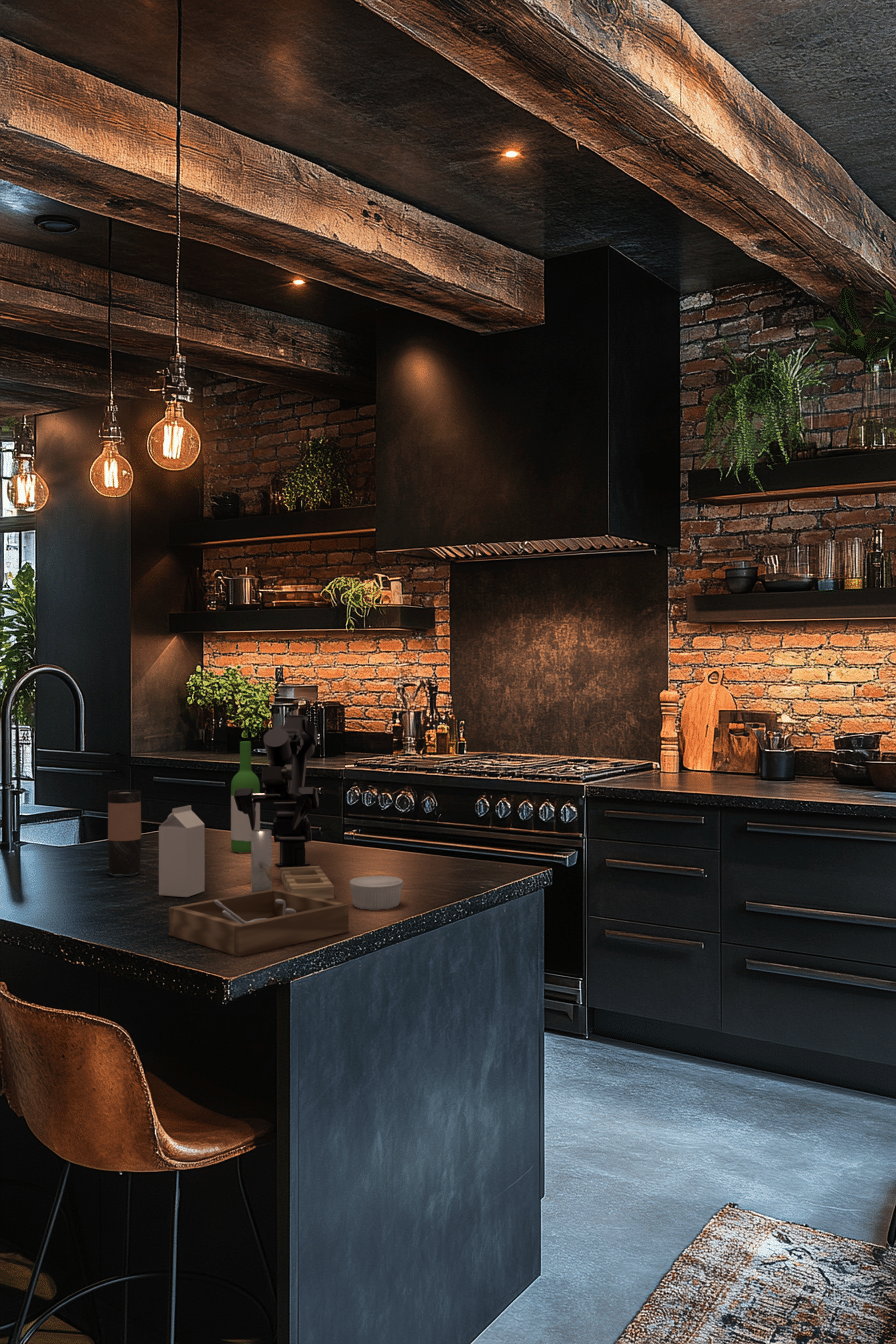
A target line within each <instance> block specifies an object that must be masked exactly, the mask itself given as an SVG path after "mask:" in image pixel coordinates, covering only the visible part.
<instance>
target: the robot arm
mask: <svg viewBox="0 0 896 1344" xmlns="http://www.w3.org/2000/svg"><path fill="white" fill-rule="evenodd" d="M285 719H286V720H285V723H284V724H283V725H276V724H274V725H273V728H272V729H271V728H270V729H269V730H268V731H267V732H265V734H263V743H264V744H263V745H264V749H265V752H266V756H267V760H269V764H268V766H264V767H262V773H261V782H262V789H263V791H265V792H264V793H261V792H260V793H259V794H254V791H253V788H238V789H237V790H236V791H235V794H234V799H235V802H236V805H237V808H238V810H239V811H241V812H243V813H244V814H248V816H249V820H250V825H251V829H252V830H254V828H255V819H256V810H255V808H256V803H260V804H261V803H263V804H264V803H265V804H266V803H269V804H278V805H277V808H276V809H277V810H276V814H275V815H276V816H275V817H274V818H273V821H272V829H273V843H279V862H275V863H274V866H276V865H278V866H277V867H281V866H282V867H281V868H286V867H308V866H311V863H310V862H306V843H309V842H312V841H313V840H312V826H311V822H310V821H309V818H308V817H307V814H309V813H312V812H313V811H317V810H318V809H319V801H320V799H319V794H318V789H317V788H316V787H315V786H305V782H306V775H307V774H306V772H307V771H306V770H307V763H308V760H310V758H311V757H313V755H315V754H314V753H315V748H316V746H317V745H318V738H319V737H318V731H317V727H316V725H314V723H312V722H311V721H309V720H308V717H307V715H304V714H289V715H286V718H285Z"/></svg>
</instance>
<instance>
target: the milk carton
mask: <svg viewBox="0 0 896 1344" xmlns="http://www.w3.org/2000/svg"><path fill="white" fill-rule="evenodd" d="M205 836H206V835H205V823H204V822H203V820H201V818H199V816H198V815H197V814H196V813H195V812H194V811H193V810H192V805H185V806H180V807H174V808H172V810H171V813H169V815H168V816H167V819H165V820H164V821H163V822H162V823H161V824H160V825H159V826H158V896H167V897H178V898H180V897H181V898H189V897H191V896H194V895H197V894H201V893H203V892H205V891H206V890H205V886H206V885H205V884H206V883H205V881H206V879H205V878H206V877H205V866H206V865H205V860H206V859H205V857H206V856H205V852H206V851H205Z"/></svg>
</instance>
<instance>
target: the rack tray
mask: <svg viewBox="0 0 896 1344" xmlns="http://www.w3.org/2000/svg"><path fill="white" fill-rule="evenodd" d="M276 899H282V900H284V901H285V903H286V909H287V908H290V909H294V910H295V911H296V913H288V912H286V915H284V916H283V904H281V903H276V902H275V900H276ZM215 900H218V901H219V902H221V903H222V904H223V905H224V906H225V907H226V908H228V909H229V910H230V911H232V912H233V913H234V914H236V915H237V916H238V917H240V918H241V919H242V920H244V921H246V922H248V921H251V920H254V919H262V918H267V919H264V920H259V921H254V922H249V923H244V924H243V923H241V922H240V921H239V920H237V919H236V918H235V917H233V916H232V915H231V914H230V915H231V916H232V917H233V918H235V919H236V920H237V921H239V922H240V923H241V924H240V923H237V922H233V921H232V920H231V919H229V918H227V917H226V916H224V915H223V914H222V911H224V909H223V908H221V907H219V906H217V905H216V904H215V903H214V901H215ZM349 906H350V905H349V904H348V903H347V904H346V903H342V902H339V901H338V902H337V901H334V900H330V899H320V898H316V897H311V896H307V895H302V894H298V893H293V892H289V891H287V890H285V889H280V888H272V889H270V890H265V891H259V892H254V893H251V892H248V893H243V894H239V895H232V896H226V897H221V898H215V899H209V900H204V901H203V900H202V901H200V902H194V903H193V902H192V903H187V904H182V905H176V906H171V907H168V936H171V937H174V938H178V939H181V940H184V941H188V942H191V943H193V944H197V945H200V946H203V947H207V948H210V949H214V950H217V951H220V952H223V953H226V954H230V955H232V956H233V955H234V956H237V957H244V956H250V955H252V954H258V953H261V952H267V951H271V950H275V949H279V948H284V947H287V946H293V945H296V944H300V943H305V942H309V941H314V940H318V939H323V938H327V937H331V936H332V937H333V936H335V935H340V934H345V933H349V928H350V927H349V926H350V925H349V918H350V917H349V916H350V915H349V911H350V910H349ZM226 912H227V911H226Z"/></svg>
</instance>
